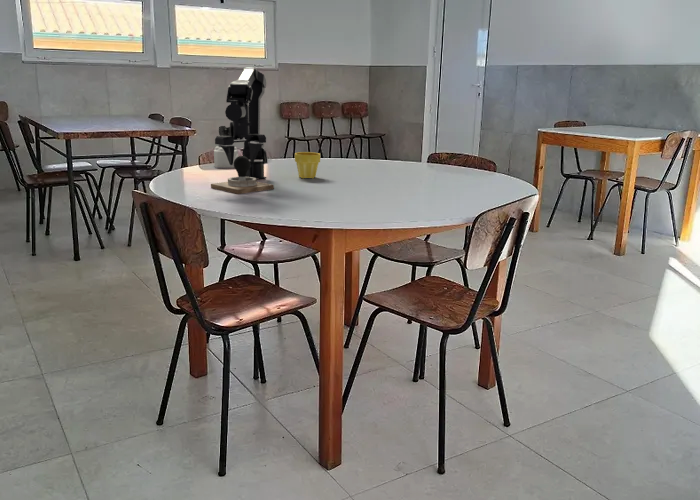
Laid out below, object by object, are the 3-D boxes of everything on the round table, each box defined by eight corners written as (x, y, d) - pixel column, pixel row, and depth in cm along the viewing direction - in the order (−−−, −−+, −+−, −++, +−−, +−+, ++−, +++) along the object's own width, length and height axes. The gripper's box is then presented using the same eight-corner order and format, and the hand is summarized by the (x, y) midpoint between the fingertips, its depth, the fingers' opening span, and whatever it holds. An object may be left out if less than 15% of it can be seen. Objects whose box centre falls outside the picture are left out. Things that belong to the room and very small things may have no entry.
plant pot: (325, 178, 254) (325, 154, 251) (303, 180, 248) (303, 155, 245) (311, 174, 262) (311, 151, 259) (289, 176, 256) (289, 152, 253)
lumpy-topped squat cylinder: (213, 167, 276) (212, 147, 274) (216, 163, 288) (215, 144, 286) (237, 167, 277) (236, 148, 275) (238, 163, 290) (238, 144, 287)
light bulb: (247, 185, 223) (246, 157, 220) (231, 184, 224) (230, 156, 222) (252, 182, 229) (252, 155, 226) (237, 182, 230) (237, 154, 227)
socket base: (246, 183, 238) (246, 174, 237) (273, 188, 227) (273, 179, 226) (210, 187, 226) (210, 178, 225) (238, 194, 216) (237, 184, 215)
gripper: (247, 117, 232) (248, 159, 236) (204, 118, 219) (206, 163, 223) (266, 119, 225) (267, 162, 229) (224, 120, 212) (225, 167, 216)
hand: (241, 163), depth 224 cm, fingers open, 9 cm apart
